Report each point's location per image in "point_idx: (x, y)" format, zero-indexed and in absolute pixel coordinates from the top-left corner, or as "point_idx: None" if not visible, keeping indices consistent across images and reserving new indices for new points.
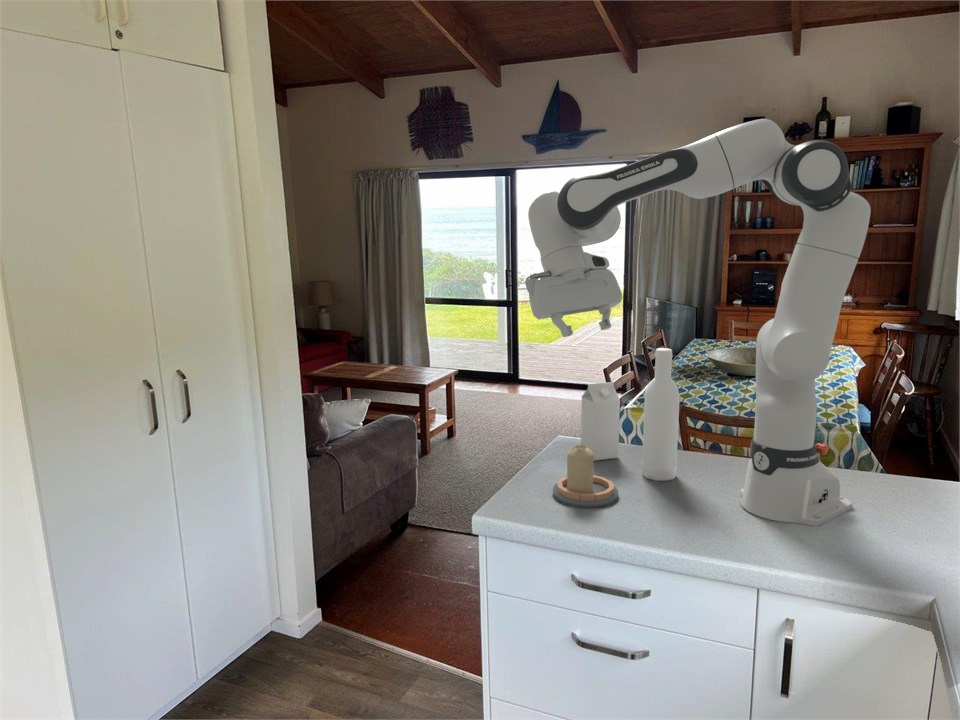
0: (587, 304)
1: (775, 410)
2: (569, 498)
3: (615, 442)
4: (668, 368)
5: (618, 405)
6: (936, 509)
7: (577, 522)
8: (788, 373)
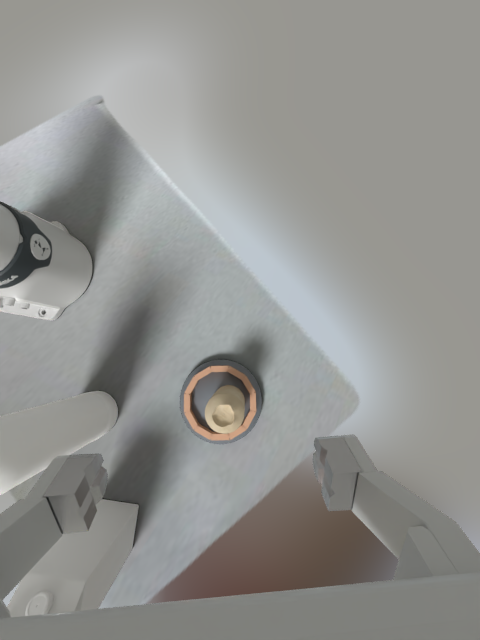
0: (146, 630)
1: None
2: (253, 385)
3: None
4: None
5: (37, 563)
6: None
7: (272, 336)
8: None
